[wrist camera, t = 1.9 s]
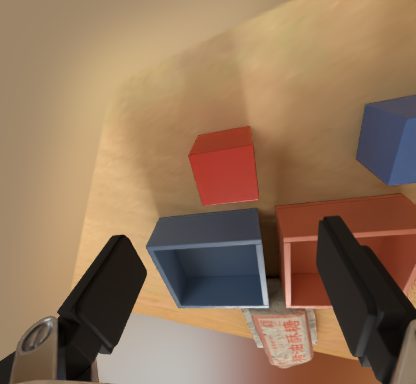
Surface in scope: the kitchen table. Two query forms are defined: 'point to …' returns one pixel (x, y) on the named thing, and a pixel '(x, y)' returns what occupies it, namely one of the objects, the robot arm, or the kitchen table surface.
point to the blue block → (389, 140)
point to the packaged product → (282, 329)
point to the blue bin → (211, 259)
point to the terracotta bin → (363, 232)
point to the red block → (225, 167)
